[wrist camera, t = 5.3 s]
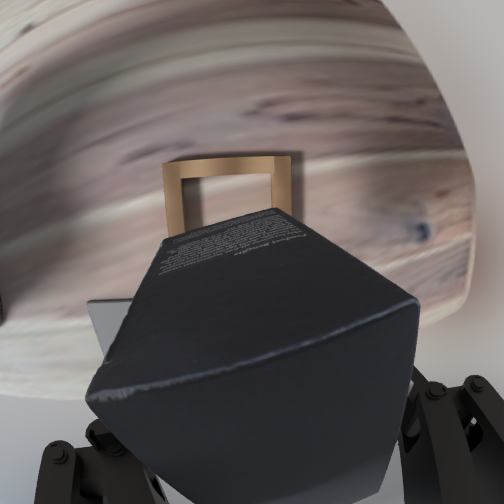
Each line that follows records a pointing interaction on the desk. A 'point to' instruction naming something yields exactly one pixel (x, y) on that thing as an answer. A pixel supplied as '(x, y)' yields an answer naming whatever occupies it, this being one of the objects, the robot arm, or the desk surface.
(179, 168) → the wooden frame
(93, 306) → the mat
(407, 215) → the desk surface
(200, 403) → the small box
